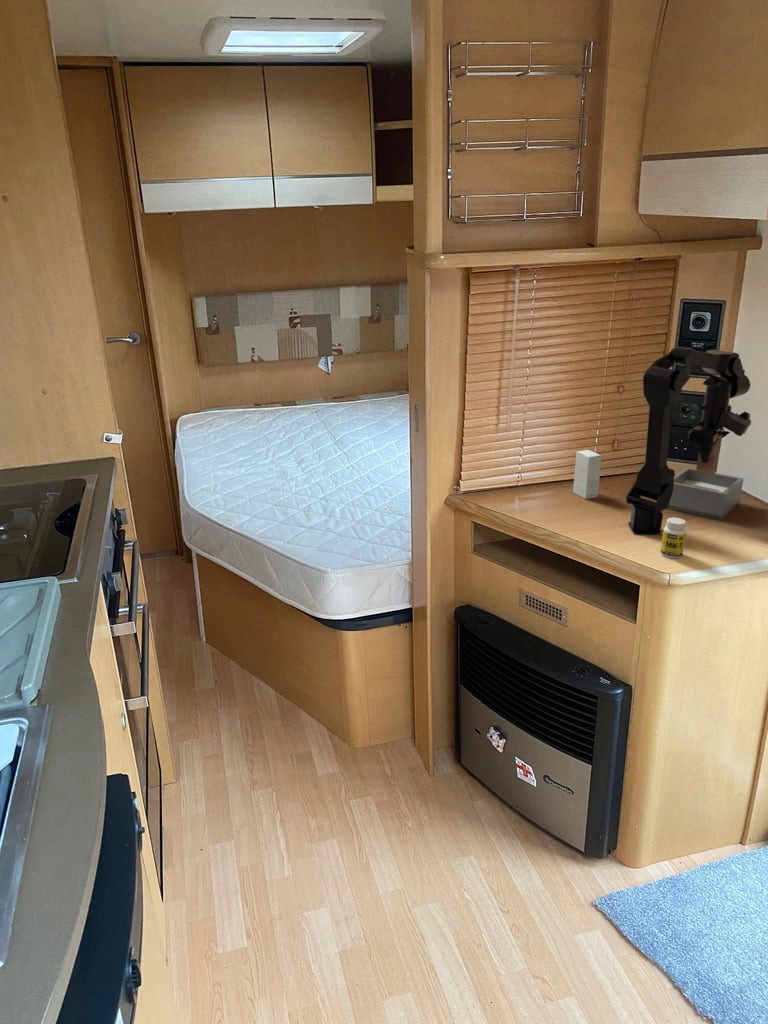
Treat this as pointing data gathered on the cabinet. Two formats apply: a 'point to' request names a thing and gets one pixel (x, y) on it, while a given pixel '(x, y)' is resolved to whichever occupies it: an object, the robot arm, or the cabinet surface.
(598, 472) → the skincare box
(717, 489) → the peg socket
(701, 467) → the walnut peg
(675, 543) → the supplement bottle
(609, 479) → the cabinet surface
